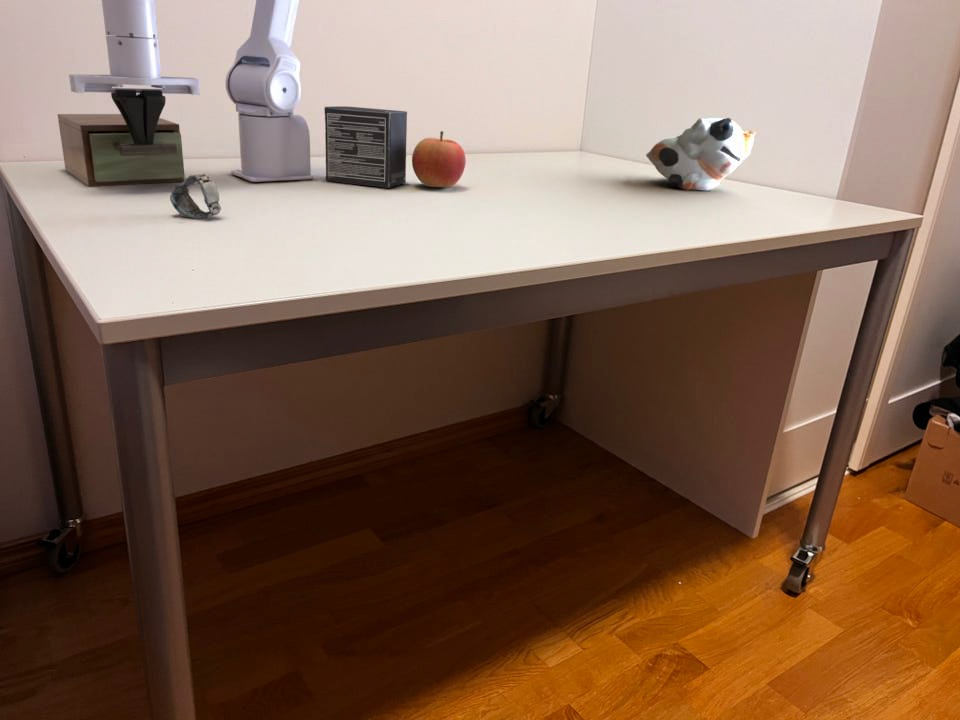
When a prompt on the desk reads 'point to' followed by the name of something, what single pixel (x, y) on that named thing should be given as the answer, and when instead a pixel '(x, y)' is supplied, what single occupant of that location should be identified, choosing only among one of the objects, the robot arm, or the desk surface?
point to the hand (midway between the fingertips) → (144, 153)
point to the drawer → (135, 156)
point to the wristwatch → (187, 204)
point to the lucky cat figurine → (702, 153)
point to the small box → (365, 146)
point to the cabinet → (79, 145)
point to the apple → (438, 162)
